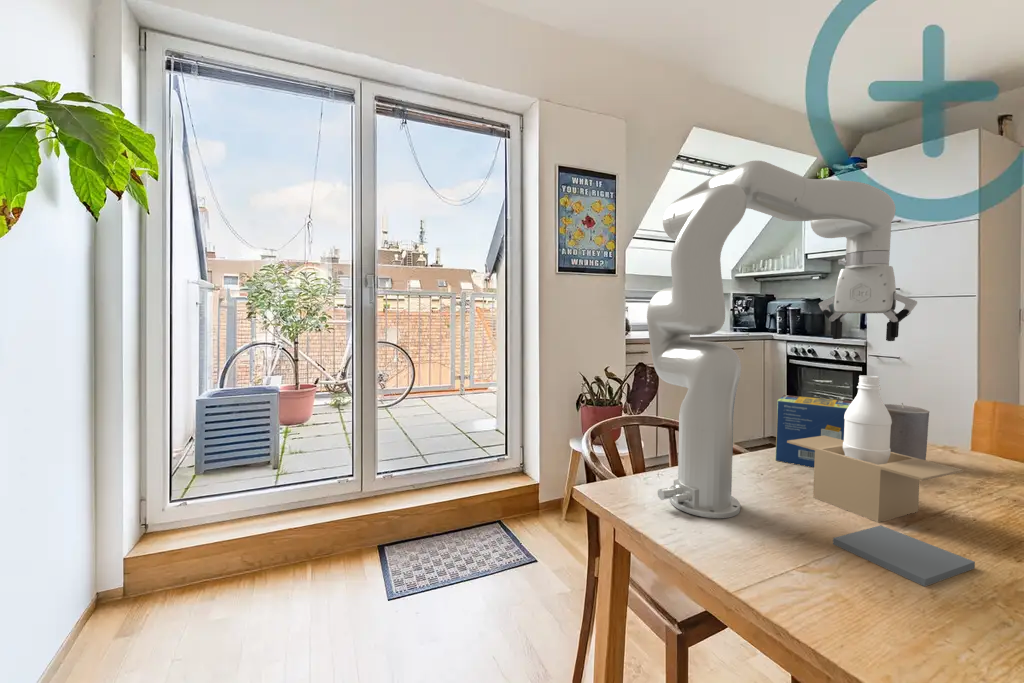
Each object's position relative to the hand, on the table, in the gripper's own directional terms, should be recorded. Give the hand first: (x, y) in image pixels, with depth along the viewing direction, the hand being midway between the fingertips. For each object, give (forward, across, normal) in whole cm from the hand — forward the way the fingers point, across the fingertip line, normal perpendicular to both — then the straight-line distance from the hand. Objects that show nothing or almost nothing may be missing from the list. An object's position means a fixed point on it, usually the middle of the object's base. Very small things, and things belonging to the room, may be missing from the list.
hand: (862, 339), depth 98 cm
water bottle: (+32, +6, -15) cm, 36 cm away
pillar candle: (+31, +2, +23) cm, 39 cm away
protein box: (+32, -10, +6) cm, 34 cm away
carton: (+31, +6, -15) cm, 35 cm away
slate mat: (+32, +16, -33) cm, 48 cm away
